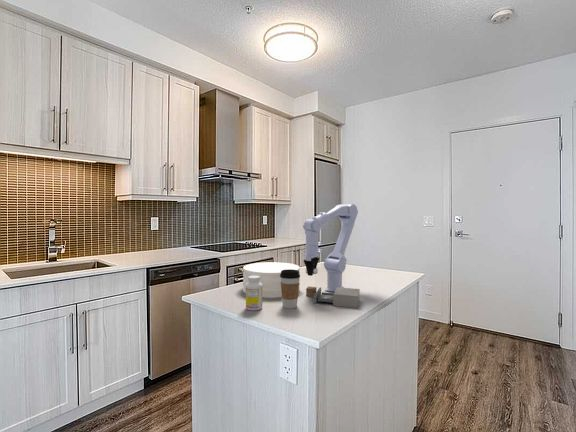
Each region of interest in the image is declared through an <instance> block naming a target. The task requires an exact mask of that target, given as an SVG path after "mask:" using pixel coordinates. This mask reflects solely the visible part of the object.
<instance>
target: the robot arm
mask: <svg viewBox="0 0 576 432" xmlns="http://www.w3.org/2000/svg"><path fill="white" fill-rule="evenodd" d="M358 213H359V211H358V207H357V206H356V204H354V203H350V204H347V203H346V204H341V203H340V204H337V205H335V206H334V207H333V208H332V209H330V210H328V212H321V211H320V212H319V214H317V215H316V216H312V218H310V219H309V218H308V219H306V220H305V221H304V222H303V225H302V226H303V230H304V234H305V253H303V254H302V255H303V257H306V258H305V259H304V260H303V263H304V266H305V270H306V269H307V273H306V274H307V276H310V277H311V276H313V275H314V274H313V271H314V268H317V266H318V263H319V261H320V257H319V232H320V231H321V229H322V227H324V226H325V225H327V224H329V223H330V220H331V219H333V218H335V217H337V216H338V217H337V218H338V219H339V220H340V222H342V227H341V229H340V231H339V235H338V238H337V240H336V243H335V245H334V248H333V250H332V252H330V253H329V254H328V255H327V257H326V258H325V259H324V262H323V266H324V269H325V270H326V273H327V275H326V277H327V280H326V281H327V283H326V285H327V287H326V288H325V291H326V292H335V290H336V288H337V287H340V288H345V287H344V286H343V281H342V280H343V273H344V272H345V270H346V267H347V265H346V264H347V258H346V257H345V253H346V249H347V247H348V244H349V240H350V237H351V234H352V231H353V229H354V226H355V222H356V219H357V217H358V216H357V215H358Z"/></svg>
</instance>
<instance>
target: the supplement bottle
mask: <svg viewBox="0 0 576 432" xmlns="http://www.w3.org/2000/svg"><path fill="white" fill-rule="evenodd" d="M248 280H249V282H248V283H247V284H246V293H245V308H246V310H248V311H254V312H255V311H260V310H261V309H262V308H263V297H262V283H260V282H259V280H260V276H249V277H248Z"/></svg>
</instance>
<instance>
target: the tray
mask: <svg viewBox="0 0 576 432" xmlns="http://www.w3.org/2000/svg"><path fill="white" fill-rule="evenodd" d="M333 294H334V293H333V292H322V287H319V288H318V290H316V293H315V295H314V297H313V298H314V304H317V303H318V302H322V303H323V302H324V303H332V304H333Z"/></svg>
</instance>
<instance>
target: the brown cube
mask: <svg viewBox="0 0 576 432" xmlns="http://www.w3.org/2000/svg"><path fill="white" fill-rule="evenodd" d="M305 292H306V293H305V294H306V296H305V297H311V298H312V297H313V298H315V297H314V295H315V293H316V292H317V286H307V287H306V288H305Z"/></svg>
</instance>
